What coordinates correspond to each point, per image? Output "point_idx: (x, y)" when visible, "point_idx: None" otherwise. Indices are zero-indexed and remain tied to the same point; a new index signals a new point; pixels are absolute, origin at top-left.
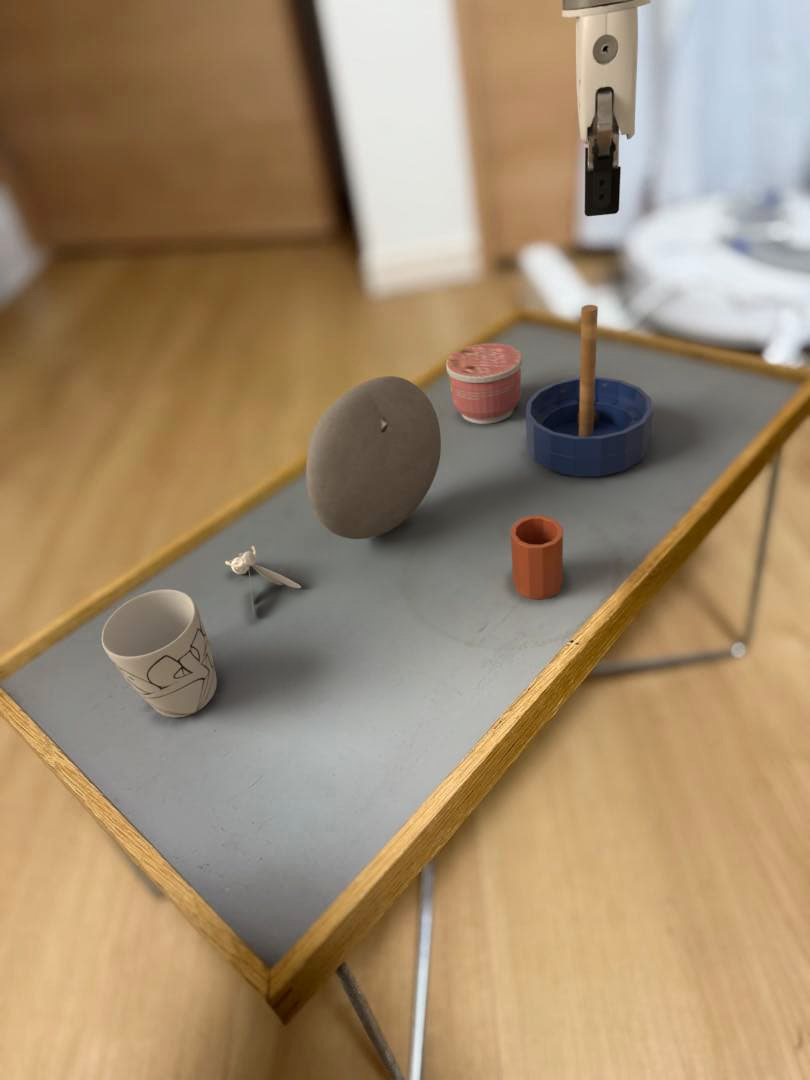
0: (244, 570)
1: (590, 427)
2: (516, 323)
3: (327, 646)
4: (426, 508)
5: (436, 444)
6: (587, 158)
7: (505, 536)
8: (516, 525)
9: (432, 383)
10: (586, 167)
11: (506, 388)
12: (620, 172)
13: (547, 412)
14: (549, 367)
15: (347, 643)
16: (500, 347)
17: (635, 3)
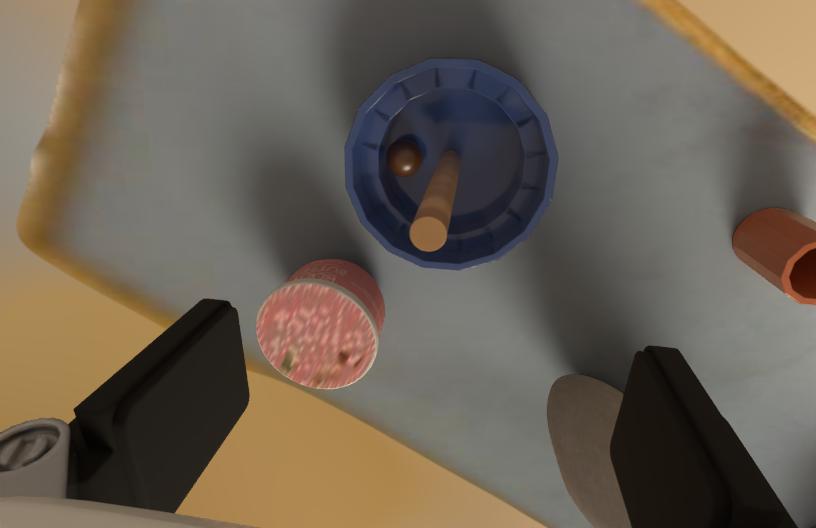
0: None
1: (458, 161)
2: (61, 251)
3: (808, 441)
4: (576, 362)
5: (597, 406)
6: (179, 496)
7: (657, 273)
8: (799, 297)
9: (265, 365)
10: (205, 466)
11: (365, 293)
12: (764, 485)
13: (406, 225)
14: (207, 204)
15: (810, 425)
16: (272, 313)
17: None
